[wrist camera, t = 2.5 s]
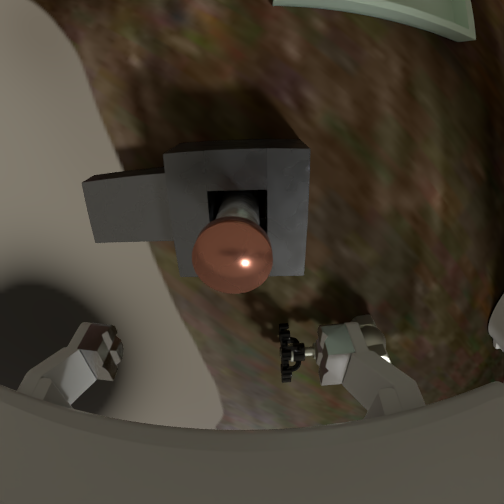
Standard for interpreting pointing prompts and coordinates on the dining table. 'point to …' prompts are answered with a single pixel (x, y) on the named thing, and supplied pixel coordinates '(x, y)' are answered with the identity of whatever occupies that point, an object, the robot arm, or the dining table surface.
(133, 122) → the dining table surface
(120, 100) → the dining table surface
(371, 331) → the valve
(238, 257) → the hitch pin
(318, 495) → the robot arm
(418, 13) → the tray
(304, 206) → the block
